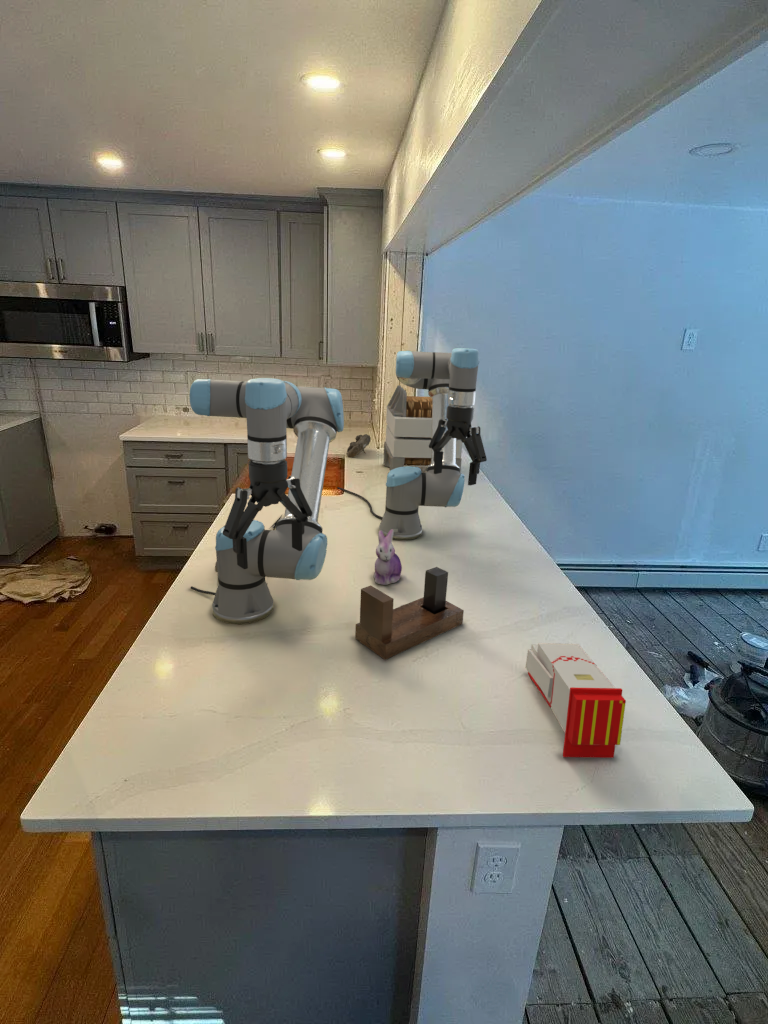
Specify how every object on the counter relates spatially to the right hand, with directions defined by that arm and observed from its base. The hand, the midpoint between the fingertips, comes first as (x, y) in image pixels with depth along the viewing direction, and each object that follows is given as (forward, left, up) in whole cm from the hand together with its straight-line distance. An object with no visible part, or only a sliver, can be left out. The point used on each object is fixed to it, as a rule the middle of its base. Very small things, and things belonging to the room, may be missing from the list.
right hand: (454, 478), depth 166 cm
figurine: (-5, -20, -29) cm, 35 cm away
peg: (+20, -26, -29) cm, 44 cm away
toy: (+60, -29, -29) cm, 73 cm away
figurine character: (-36, -53, -29) cm, 71 cm away
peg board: (+20, -34, -29) cm, 49 cm away
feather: (-65, -20, -29) cm, 74 cm away
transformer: (-82, +68, -29) cm, 110 cm away
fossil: (-128, +66, -29) cm, 147 cm away
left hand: (+10, -66, -4) cm, 67 cm away
